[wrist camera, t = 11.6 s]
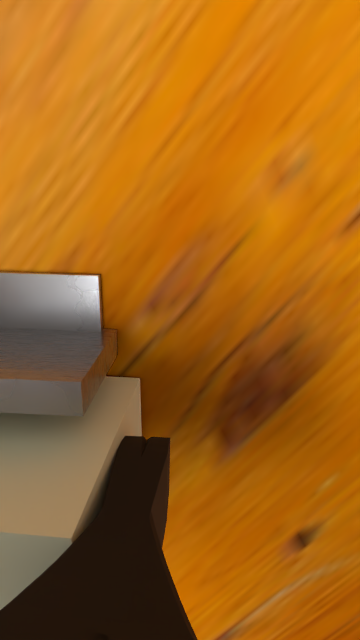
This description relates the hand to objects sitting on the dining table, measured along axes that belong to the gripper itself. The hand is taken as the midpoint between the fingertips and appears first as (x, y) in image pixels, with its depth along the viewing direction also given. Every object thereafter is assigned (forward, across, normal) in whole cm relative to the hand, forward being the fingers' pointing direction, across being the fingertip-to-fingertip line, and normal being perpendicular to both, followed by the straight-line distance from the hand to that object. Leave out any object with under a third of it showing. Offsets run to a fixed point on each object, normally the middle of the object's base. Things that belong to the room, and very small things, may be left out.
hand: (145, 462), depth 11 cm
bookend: (+3, +4, -4) cm, 7 cm away
